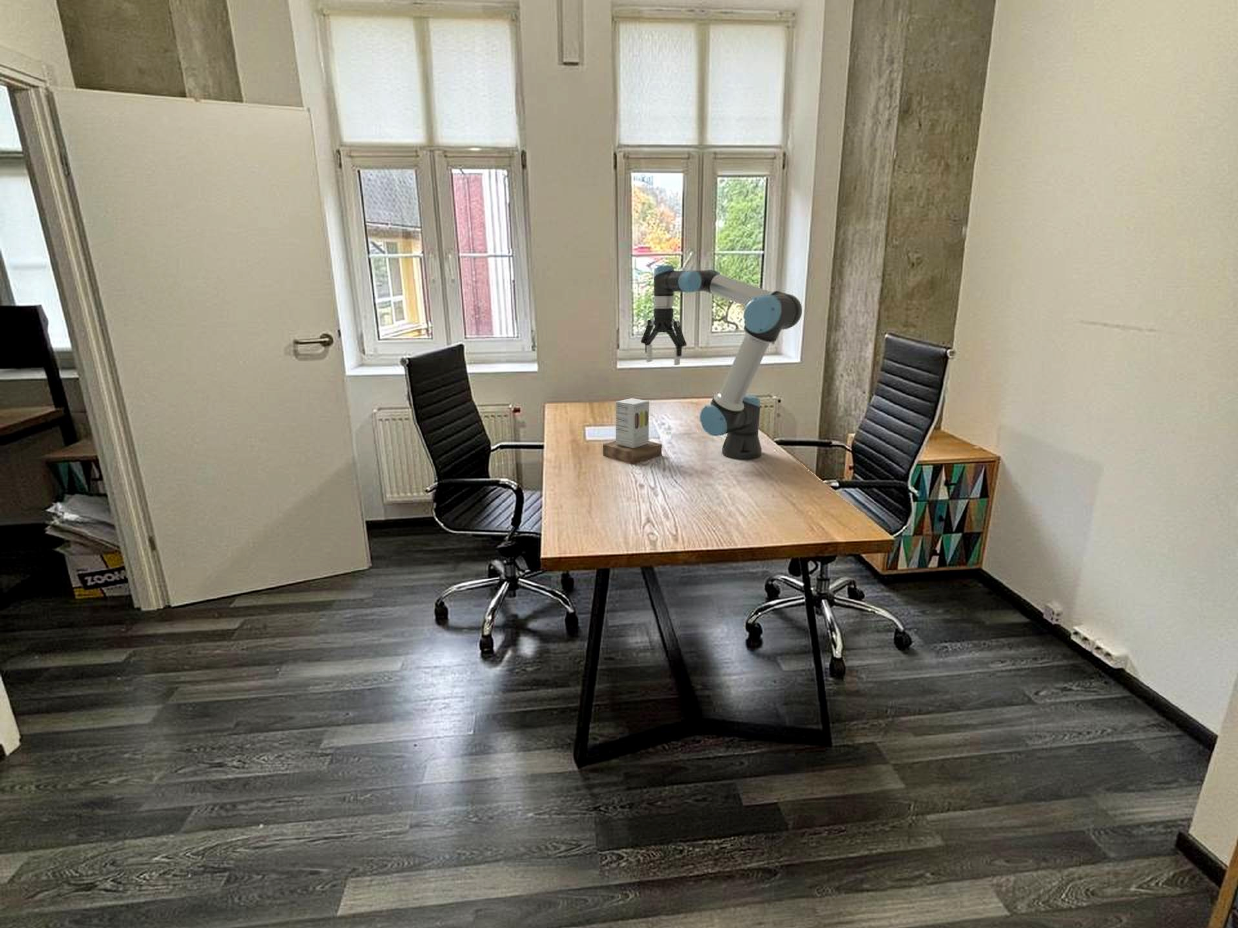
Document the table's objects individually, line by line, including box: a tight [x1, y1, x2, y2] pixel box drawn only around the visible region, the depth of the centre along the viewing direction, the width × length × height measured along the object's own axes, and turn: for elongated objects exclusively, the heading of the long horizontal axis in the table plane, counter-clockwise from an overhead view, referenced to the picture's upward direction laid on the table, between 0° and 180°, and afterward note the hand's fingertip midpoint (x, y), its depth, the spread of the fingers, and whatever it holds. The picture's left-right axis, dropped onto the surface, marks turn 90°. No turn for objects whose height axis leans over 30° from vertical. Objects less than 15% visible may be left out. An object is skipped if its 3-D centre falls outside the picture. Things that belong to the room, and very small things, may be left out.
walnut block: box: [602, 440, 663, 465], centre depth 248 cm, size 16×16×5 cm
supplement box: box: [615, 397, 650, 448], centre depth 244 cm, size 10×9×17 cm
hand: (662, 363), depth 252 cm, fingers open, 13 cm apart
